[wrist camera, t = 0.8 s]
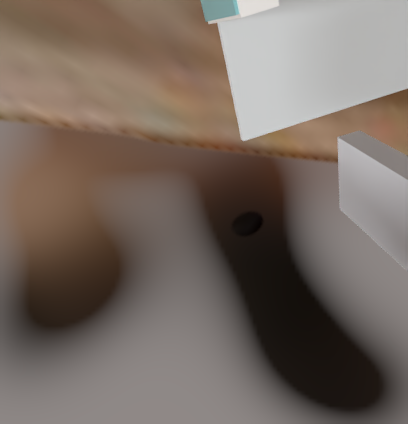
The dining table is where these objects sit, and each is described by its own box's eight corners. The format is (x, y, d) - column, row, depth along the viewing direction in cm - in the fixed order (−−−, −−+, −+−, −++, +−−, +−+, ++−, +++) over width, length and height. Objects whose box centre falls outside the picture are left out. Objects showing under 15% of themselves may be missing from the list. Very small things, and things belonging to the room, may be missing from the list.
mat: (201, -56, 27) (202, -57, 26) (458, -130, 28) (464, -133, 27) (241, 139, 35) (243, 141, 34) (441, 75, 36) (445, 76, 35)
